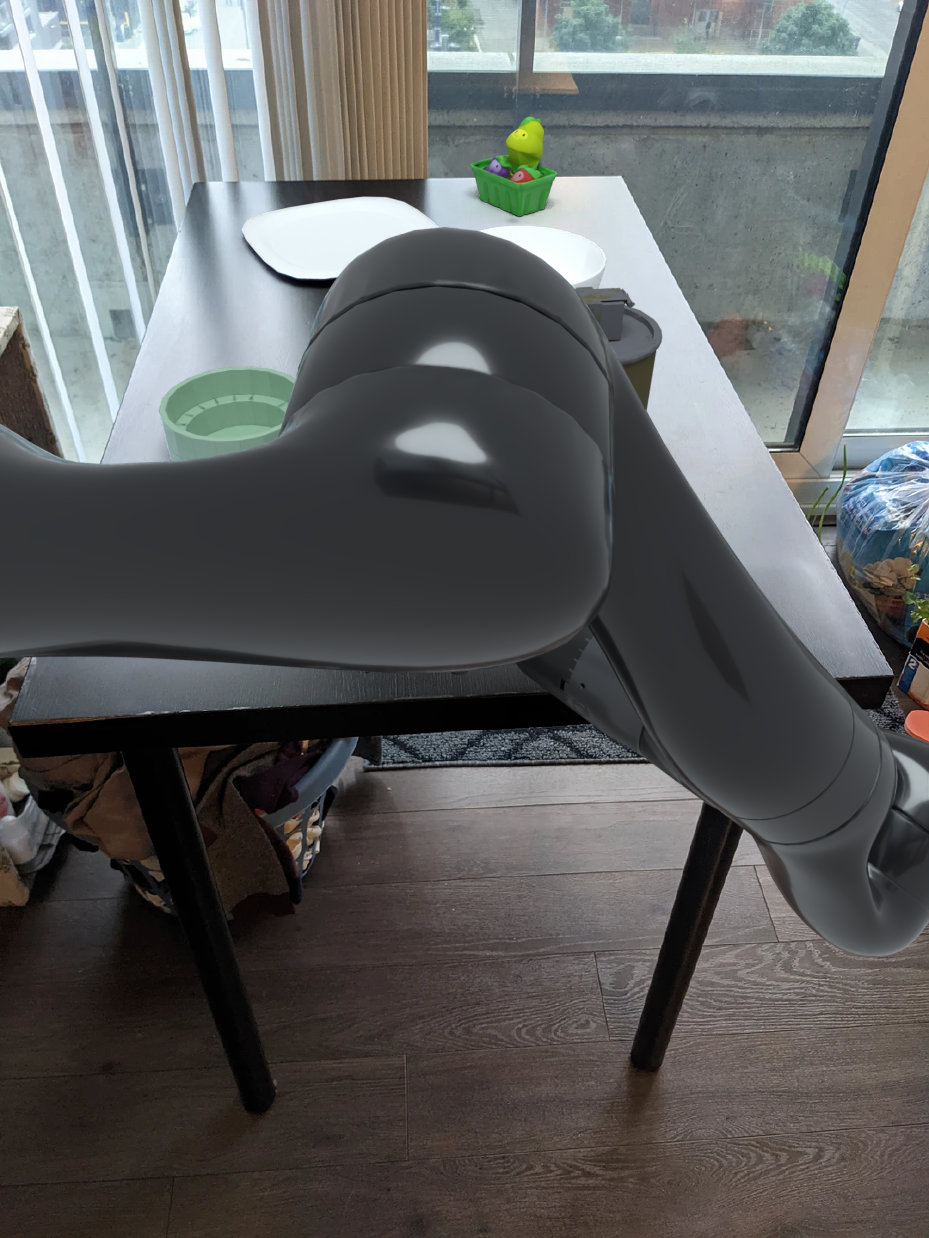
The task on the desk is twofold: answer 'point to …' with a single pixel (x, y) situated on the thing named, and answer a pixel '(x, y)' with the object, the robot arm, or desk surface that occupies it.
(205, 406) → the mixing bowl
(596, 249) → the bowl
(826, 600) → the desk surface
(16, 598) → the robot arm
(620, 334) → the canister
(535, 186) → the fruit basket
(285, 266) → the plate
